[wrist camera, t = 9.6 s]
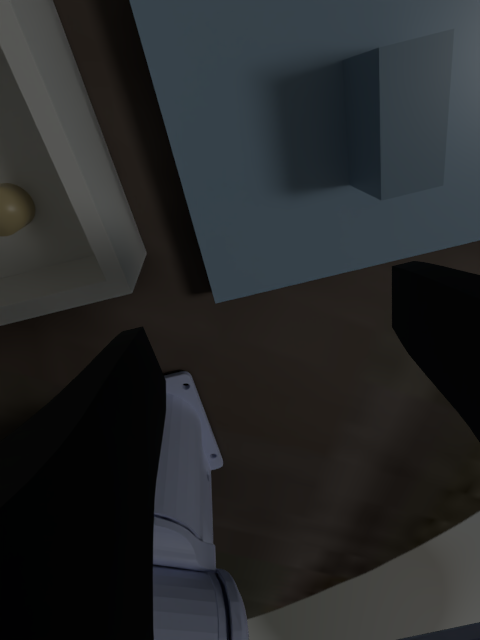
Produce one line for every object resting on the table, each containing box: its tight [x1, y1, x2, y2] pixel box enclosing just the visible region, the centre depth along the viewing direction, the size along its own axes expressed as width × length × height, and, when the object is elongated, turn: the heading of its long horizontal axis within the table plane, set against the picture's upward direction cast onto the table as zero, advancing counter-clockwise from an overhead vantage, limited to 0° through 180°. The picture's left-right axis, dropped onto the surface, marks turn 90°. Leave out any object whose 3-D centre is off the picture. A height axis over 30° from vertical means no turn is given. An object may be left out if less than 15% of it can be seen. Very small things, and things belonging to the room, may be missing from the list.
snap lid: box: [129, 0, 480, 303], centre depth 16 cm, size 14×18×6 cm
